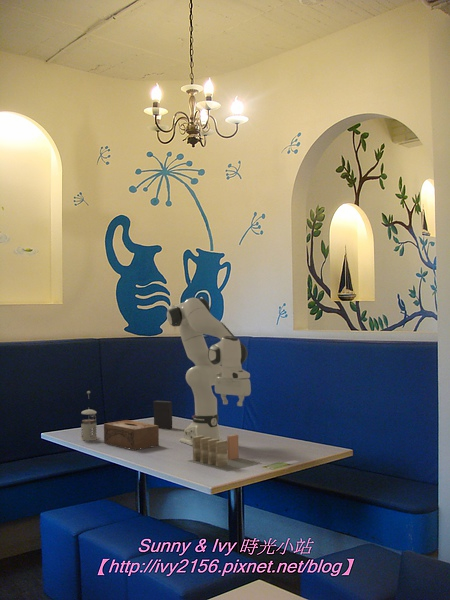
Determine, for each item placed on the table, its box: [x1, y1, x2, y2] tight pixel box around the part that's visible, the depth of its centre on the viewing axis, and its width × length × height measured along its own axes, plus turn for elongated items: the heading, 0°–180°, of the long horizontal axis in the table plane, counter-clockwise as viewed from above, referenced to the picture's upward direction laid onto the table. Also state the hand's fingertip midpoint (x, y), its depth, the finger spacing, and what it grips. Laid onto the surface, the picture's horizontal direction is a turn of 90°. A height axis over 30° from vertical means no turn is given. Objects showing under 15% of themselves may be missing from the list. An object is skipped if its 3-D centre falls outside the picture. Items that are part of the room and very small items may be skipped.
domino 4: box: [216, 439, 228, 467], centre depth 264 cm, size 2×5×10 cm, turn 132°
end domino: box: [226, 434, 240, 460], centre depth 277 cm, size 2×5×10 cm, turn 132°
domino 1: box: [192, 436, 204, 461], centre depth 276 cm, size 2×5×10 cm, turn 132°
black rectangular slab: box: [152, 400, 173, 430], centre depth 362 cm, size 11×4×15 cm, turn 58°
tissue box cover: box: [103, 419, 160, 451], centre depth 316 cm, size 26×14×10 cm, turn 45°
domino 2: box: [200, 437, 212, 463], centre depth 272 cm, size 2×5×10 cm, turn 132°
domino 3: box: [208, 439, 219, 465], centre depth 268 cm, size 2×5×10 cm, turn 132°
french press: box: [79, 390, 99, 442], centre depth 333 cm, size 10×12×25 cm
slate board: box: [188, 454, 262, 472], centre depth 271 cm, size 26×20×1 cm
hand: (232, 405), depth 278 cm, fingers open, 8 cm apart
